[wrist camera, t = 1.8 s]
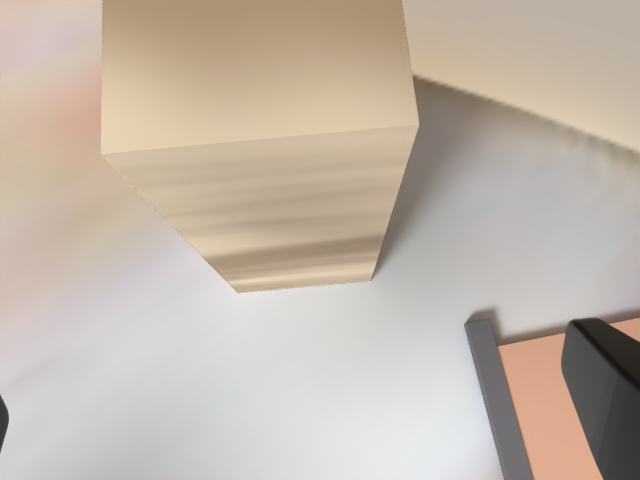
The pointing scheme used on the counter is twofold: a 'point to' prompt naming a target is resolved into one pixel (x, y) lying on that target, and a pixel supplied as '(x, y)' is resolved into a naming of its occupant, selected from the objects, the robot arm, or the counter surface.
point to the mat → (533, 405)
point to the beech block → (263, 129)
